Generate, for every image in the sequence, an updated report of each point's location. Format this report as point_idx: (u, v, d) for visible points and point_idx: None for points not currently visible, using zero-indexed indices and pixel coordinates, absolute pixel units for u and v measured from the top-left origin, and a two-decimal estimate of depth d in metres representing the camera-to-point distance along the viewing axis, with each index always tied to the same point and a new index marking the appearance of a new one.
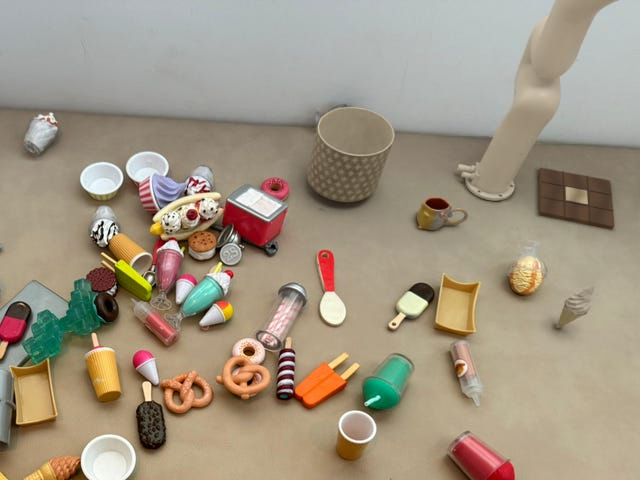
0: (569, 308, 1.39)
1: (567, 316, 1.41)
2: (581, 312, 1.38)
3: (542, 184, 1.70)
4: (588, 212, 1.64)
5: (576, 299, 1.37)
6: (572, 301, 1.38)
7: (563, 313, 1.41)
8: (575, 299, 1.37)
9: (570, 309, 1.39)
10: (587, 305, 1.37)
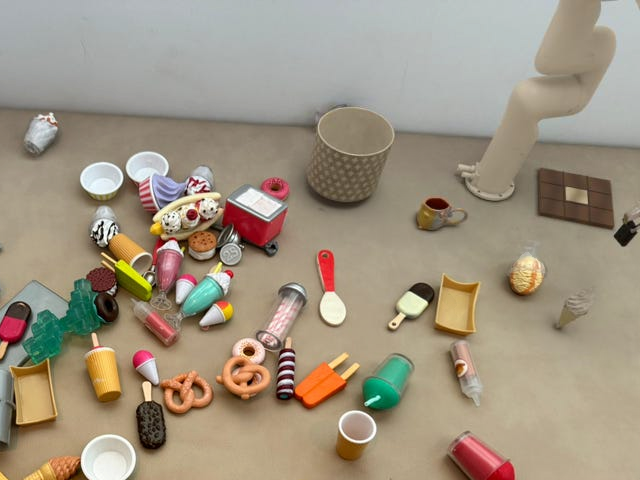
0: (569, 308, 1.39)
1: (567, 316, 1.41)
2: (581, 312, 1.38)
3: (542, 184, 1.70)
4: (588, 212, 1.64)
5: (576, 299, 1.37)
6: (572, 301, 1.38)
7: (563, 313, 1.41)
8: (575, 299, 1.37)
9: (570, 309, 1.39)
10: (587, 305, 1.37)
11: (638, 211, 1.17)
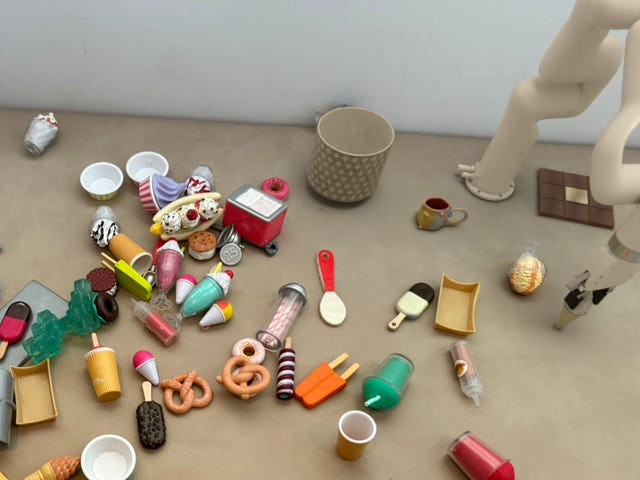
0: (569, 308, 1.39)
1: (566, 316, 1.41)
2: (581, 312, 1.38)
3: (542, 184, 1.70)
4: (588, 212, 1.64)
5: None
6: None
7: (563, 313, 1.41)
8: None
9: (570, 309, 1.39)
10: (587, 305, 1.37)
11: (576, 283, 1.30)
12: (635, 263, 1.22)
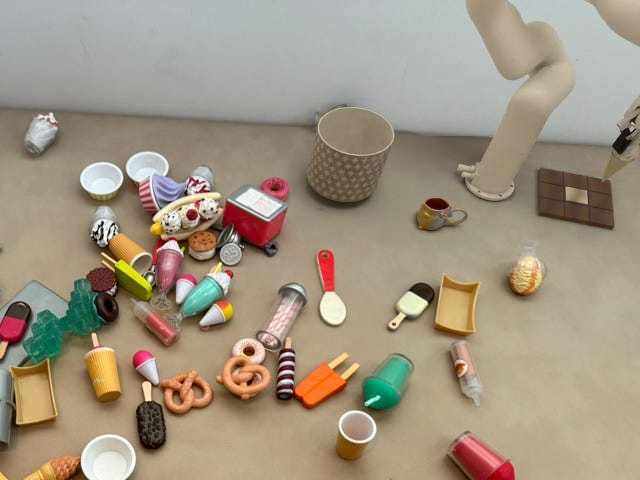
0: (616, 155, 1.43)
1: (613, 165, 1.45)
2: (628, 158, 1.42)
3: (542, 184, 1.70)
4: (588, 212, 1.64)
5: None
6: None
7: (610, 162, 1.45)
8: None
9: (617, 156, 1.43)
10: (634, 150, 1.41)
11: (627, 120, 1.34)
12: None
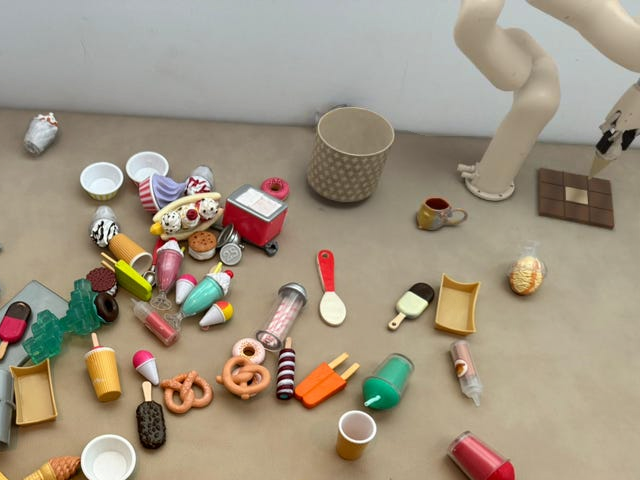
0: (600, 155, 1.56)
1: (598, 164, 1.57)
2: (611, 157, 1.55)
3: (542, 184, 1.70)
4: (588, 212, 1.64)
5: None
6: None
7: (594, 161, 1.58)
8: None
9: (601, 155, 1.55)
10: (616, 150, 1.53)
11: (608, 123, 1.47)
12: None
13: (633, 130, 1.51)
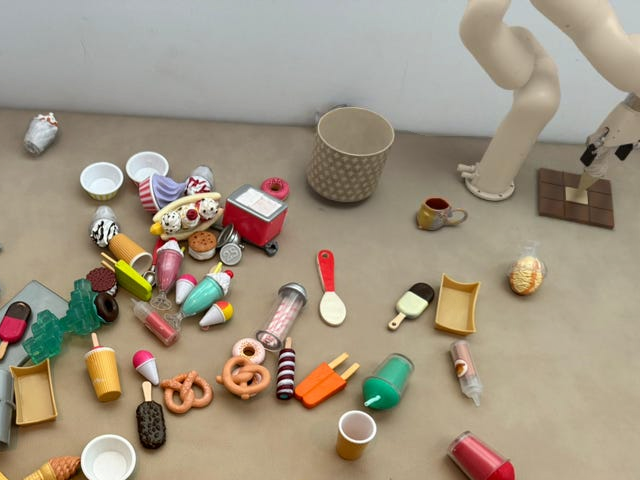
0: (588, 172, 1.60)
1: (585, 181, 1.62)
2: (598, 175, 1.59)
3: (542, 184, 1.70)
4: (588, 212, 1.64)
5: (594, 163, 1.59)
6: (590, 165, 1.59)
7: (582, 178, 1.63)
8: (593, 163, 1.59)
9: (588, 173, 1.60)
10: (603, 168, 1.58)
11: (597, 135, 1.49)
12: None
13: None
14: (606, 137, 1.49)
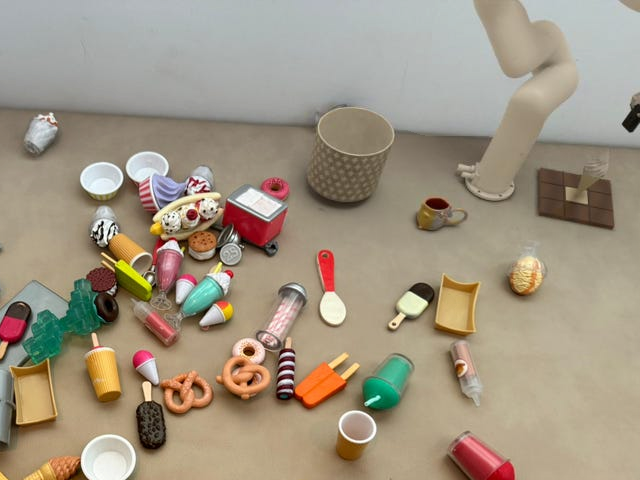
0: (588, 172, 1.60)
1: (585, 181, 1.62)
2: (598, 175, 1.59)
3: (542, 184, 1.70)
4: (588, 212, 1.64)
5: (594, 163, 1.59)
6: (590, 165, 1.59)
7: (582, 178, 1.63)
8: (593, 163, 1.59)
9: (589, 173, 1.60)
10: (604, 168, 1.58)
11: None
12: None
13: None
14: None
